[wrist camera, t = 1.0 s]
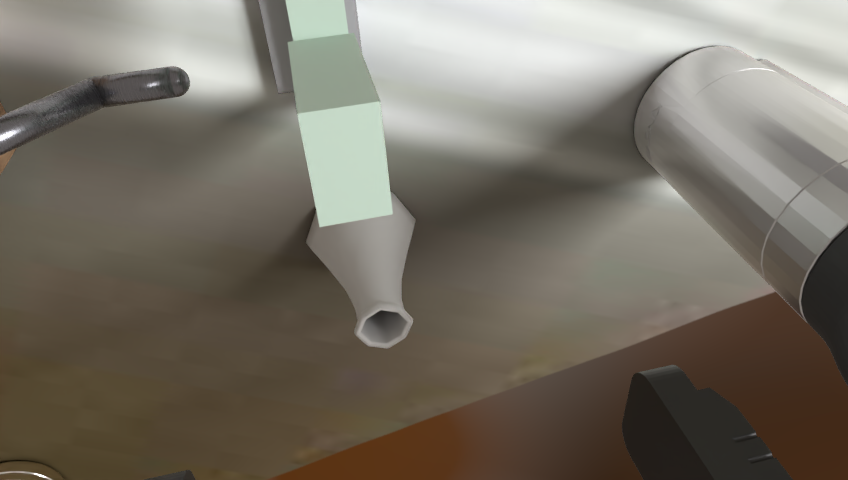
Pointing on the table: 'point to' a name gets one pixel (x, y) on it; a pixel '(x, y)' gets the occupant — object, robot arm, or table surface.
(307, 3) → the square frame with post
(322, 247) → the flask
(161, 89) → the bent wire
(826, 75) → the table surface
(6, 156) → the wooden block
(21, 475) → the water bottle
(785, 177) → the robot arm
